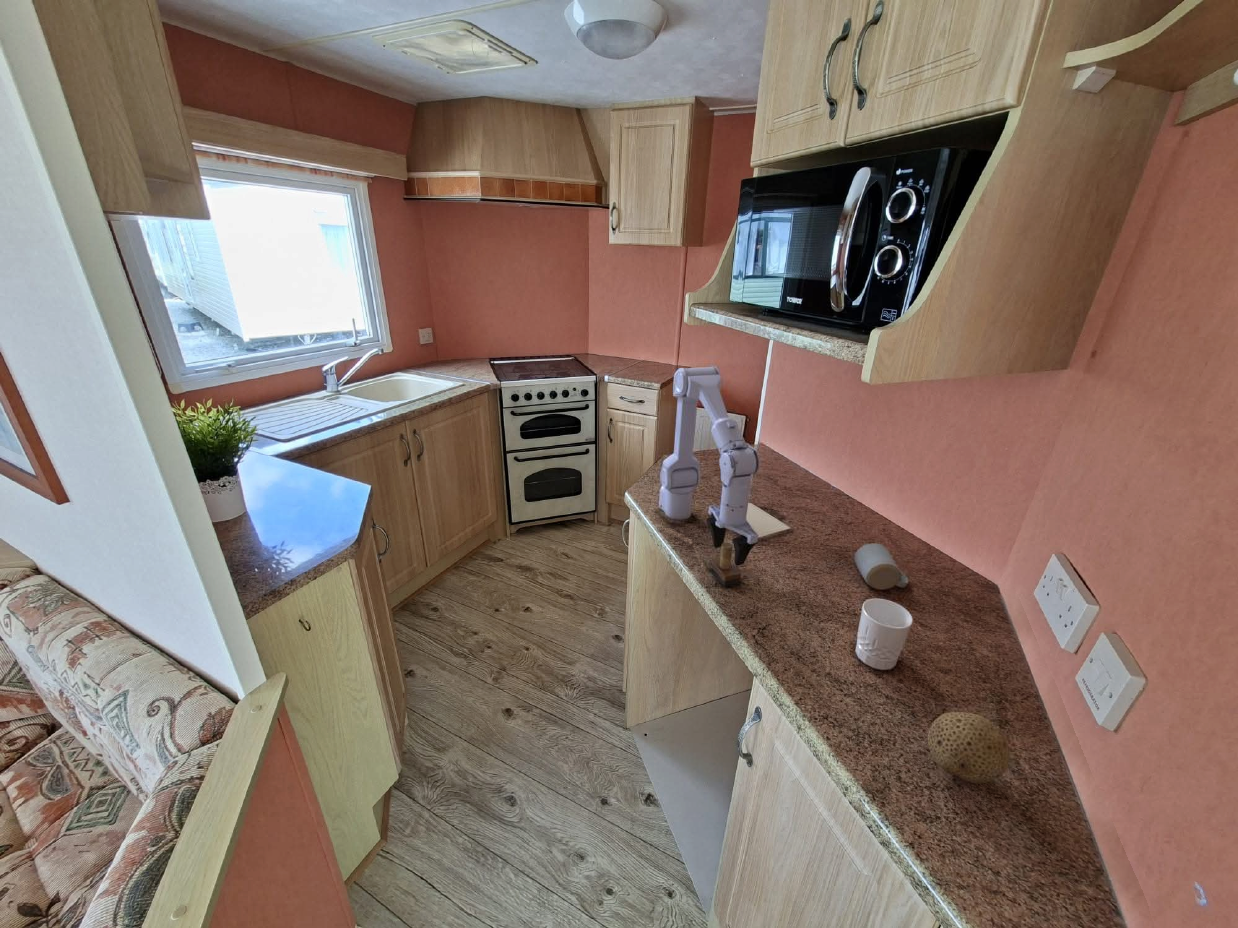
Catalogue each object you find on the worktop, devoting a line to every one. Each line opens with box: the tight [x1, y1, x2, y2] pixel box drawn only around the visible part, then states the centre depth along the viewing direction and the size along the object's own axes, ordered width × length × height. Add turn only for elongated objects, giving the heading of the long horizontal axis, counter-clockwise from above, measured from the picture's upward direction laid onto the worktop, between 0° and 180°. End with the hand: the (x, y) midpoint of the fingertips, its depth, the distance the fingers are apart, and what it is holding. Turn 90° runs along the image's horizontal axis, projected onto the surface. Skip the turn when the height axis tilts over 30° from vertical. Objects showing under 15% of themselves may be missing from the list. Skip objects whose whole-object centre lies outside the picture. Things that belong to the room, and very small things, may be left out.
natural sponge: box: [927, 711, 1011, 784], centre depth 68 cm, size 9×9×10 cm
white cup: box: [855, 598, 914, 671], centre depth 88 cm, size 8×8×10 cm
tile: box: [746, 502, 791, 539], centre depth 134 cm, size 16×13×1 cm
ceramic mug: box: [853, 542, 909, 591], centre depth 109 cm, size 11×8×8 cm
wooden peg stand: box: [708, 542, 742, 588], centre depth 110 cm, size 7×4×8 cm, turn 20°
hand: (728, 555), depth 110 cm, fingers open, 7 cm apart
